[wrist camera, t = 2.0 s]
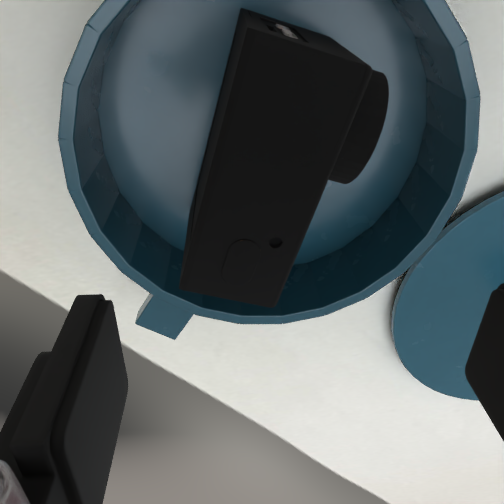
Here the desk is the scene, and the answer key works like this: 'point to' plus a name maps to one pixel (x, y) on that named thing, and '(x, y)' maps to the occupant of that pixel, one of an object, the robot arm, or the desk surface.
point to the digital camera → (276, 155)
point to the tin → (198, 128)
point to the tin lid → (450, 298)
